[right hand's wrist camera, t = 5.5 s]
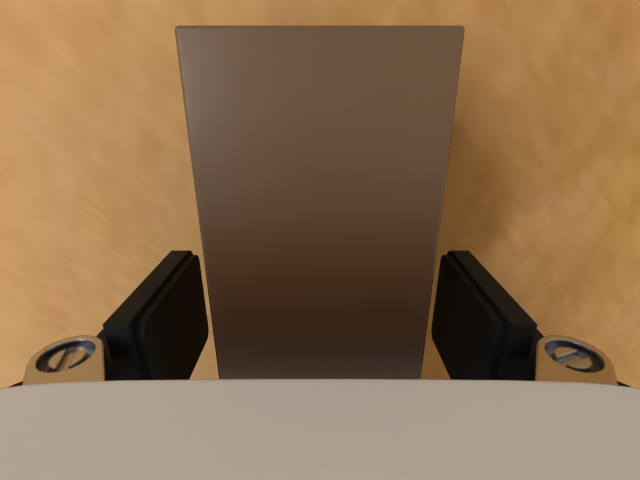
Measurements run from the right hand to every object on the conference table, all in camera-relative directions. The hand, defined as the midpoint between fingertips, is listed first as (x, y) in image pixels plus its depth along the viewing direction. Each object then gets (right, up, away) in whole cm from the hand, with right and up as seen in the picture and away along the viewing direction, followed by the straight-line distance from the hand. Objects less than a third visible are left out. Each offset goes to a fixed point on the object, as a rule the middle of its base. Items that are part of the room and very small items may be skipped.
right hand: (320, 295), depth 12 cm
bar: (0, -31, +15) cm, 34 cm away
